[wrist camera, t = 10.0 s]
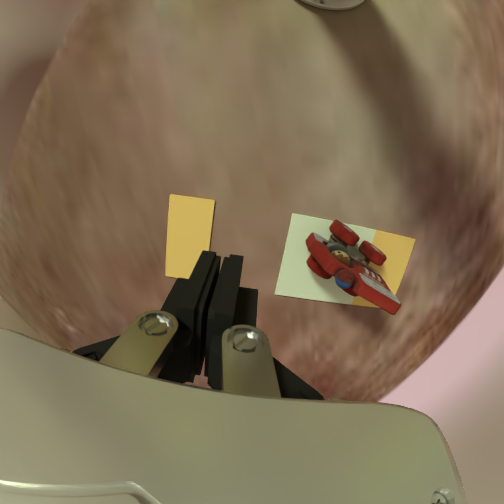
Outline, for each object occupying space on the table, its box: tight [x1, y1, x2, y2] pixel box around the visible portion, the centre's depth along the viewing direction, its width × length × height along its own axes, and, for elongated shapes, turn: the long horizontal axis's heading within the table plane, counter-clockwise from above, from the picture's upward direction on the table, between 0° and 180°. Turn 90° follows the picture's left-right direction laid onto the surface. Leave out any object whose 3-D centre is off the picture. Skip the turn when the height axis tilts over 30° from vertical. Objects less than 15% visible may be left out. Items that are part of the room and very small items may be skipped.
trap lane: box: [165, 194, 416, 308], centre depth 38 cm, size 12×35×1 cm, turn 81°
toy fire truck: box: [305, 220, 401, 315], centre depth 33 cm, size 7×12×10 cm, turn 59°
